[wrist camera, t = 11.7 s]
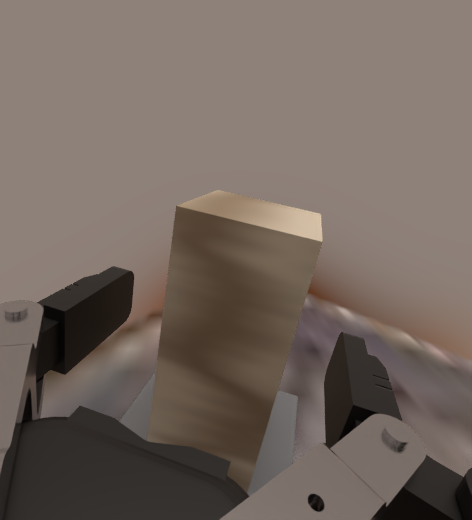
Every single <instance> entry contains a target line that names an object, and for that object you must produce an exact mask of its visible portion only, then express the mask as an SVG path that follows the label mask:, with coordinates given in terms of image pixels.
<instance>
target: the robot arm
mask: <svg viewBox="0 0 472 520" xmlns="http://www.w3.org/2000/svg"><path fill="white" fill-rule="evenodd" d="M133 285H134V274H133V272H132V271H129V270H125V269H122V268H118V267H111V268H109V269H107V270H106V271H103V272H102V273H100V274H96V275H93V276H89V277H85V278H82V279H80V280H78V281H77V282H75V283H73V285H72V284H71V285H69V286H67V287H65V289H61V290H60V291H58V292H56V293H54V294H53V295H50V296H49V297H47V298H45V299H43V300H41V301H39V302H37V303H36V302H32V301H25V300H23V301H21V300H20V301H11V302H6V303H2V304H0V520H472V468H471V469H469V470H468V471H467V473H466V475H465V476H464V477H462V476H461V475H459V474H457V473H455V472H454V471H452V470H450V469H448V468H447V467H445V466H443V465H441V464H440V463H438V462H436V461H435V460H433V459H432V458H430V457H429V456H427V455H426V449H425V446H424V444H423V442H422V440H421V439H420V437H419V436H418V435H417V434H416V432H415V431H414V430H413V429H411V428H410V427H409V426H408V425H406V424H405V423H404V422H403V421H402V418H401V415H400V412H399V409H398V406H397V402H396V399H395V396H394V393H393V391H392V387H391V383H390V382H389V377H388V374H387V371H386V368H385V367H384V366H383V364H382V363H381V362H380V361H379V360H378V358H377V357H375V356H371V355H368V353H367V349H366V345H365V341H364V339H363V338H360V337H357V336H353V335H350V334H346V333H343V332H341V333H340V335H339V337H338V340H337V343H336V345H335V348H334V351H333V354H332V357H331V359H330V362H329V365H328V368H327V371H326V375H325V382H324V396H325V430H326V444H325V443H320V444H318V445H317V446H315V447H314V448H313V449H312V450H310V451H309V452H308V453H306V454H305V455H304V456H302V457H301V458H300V459H298V460H297V461H296V462H294V463H293V464H292V465H290V466H289V467H288V468H287V469H285V470H284V471H283V472H281V473H280V474H279V475H277V476H276V477H275V478H273V479H272V480H271V481H269V482H268V483H267V484H265V485H264V486H263V487H262V488H260V489H259V490H258V491H256V492H255V493H254V494H252V495H251V496H249V495H248V494H247V493H246V492H245V490H244V489H243V488H242V487H241V486H240V485H238V484H237V483H236V482H235V481H234V480H233V479H231V478H230V477H228V476H227V474H228V470H229V466H230V462H231V461H229V460H226V459H223V458H221V457H218V456H215V455H212V454H210V453H207V452H204V451H202V450H199V449H196V448H193V447H189V446H180V445H172V444H163V443H155V442H148V441H146V440H144V439H143V438H141V437H140V436H138V435H137V434H136V433H134V432H133V431H132V430H130V429H129V428H127V427H126V426H125V425H123V424H122V423H120V422H119V421H118V420H116V419H115V418H112V417H109V416H107V415H104V414H101V413H99V412H96V411H93V410H90V409H88V408H85V407H82V406H79V407H78V408H77V409H76V410H75V412H74V413H73V414H72V415H71V416H70V417H48V418H41V419H40V416H41V409H42V402H43V394H44V387H45V374H46V373H47V372H48V371H49V370H53V371H56V372H59V373H61V374H64V375H65V374H66V373H68V372H69V371H70V370H71V369H72V368H73V367H74V366H75V365H77V364H78V363H79V362H80V361H81V360H82V359H83V358H85V357H86V356H87V355H88V354H89V353H90V352H91V351H93V350H94V349H95V348H96V347H97V346H98V345H99V344H100V343H102V342H103V341H104V340H105V339H106V338H107V337H108V336H110V335H111V334H112V333H113V332H114V331H115V330H116V329H118V328H119V327H120V326H121V325H122V324H123V323H124V322H125V321H126V320H127V318H128V317H129V314H130V312H131V308H132V295H133Z"/></svg>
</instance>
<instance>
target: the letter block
mask: <svg viewBox="0 0 472 520" xmlns="http://www.w3.org/2000/svg"><path fill="white" fill-rule="evenodd" d="M322 242H323V241H322V224H321V214H319V213H315V212H310V211H306V210H302V209H298V208H293V207H289V206H285V205H280V204H276V203H272V202H267V201H263V200H259V199H255V198H250V197H246V196H242V195H238V194H233V193H229V192H225V191H220V190H217V191H214V192H212V193H209V194H206V195H204V196H201V197H198V198H196V199H193V200H190V201H188V202H185V203H182V204H180V205H177V206H176V214H175V221H174V229H173V237H172V245H171V254H170V261H169V270H168V277H167V285H166V294H165V302H164V309H163V317H162V325H161V333H160V341H159V350H158V358H157V366H156V374H155V382H154V390H153V398H152V406H151V414H150V422H149V430H148V438H147V441H148V442H155V443H163V444H172V445H180V446H189V447H193V448H196V449H199V450H202V451H204V452H207V453H210V454H212V455H215V456H218V457H221V458H223V459H226V460H229V461H231V462H230V466H229V470H228V474H227V476H228V477H230V478H231V479H233V480H234V481H235V482H236V483H237V484H238V485H240V486H241V487H242V488H243V489H244V490H245V492H246V493H247V492H248V488H249V485H250V482H251V478H252V475H253V472H254V468H255V465H256V462H257V458H258V455H259V452H260V448H261V445H262V442H263V438H264V435H265V432H266V428H267V425H268V422H269V418H270V415H271V412H272V408H273V405H274V402H275V398H276V395H277V392H278V388H279V385H280V382H281V378H282V375H283V372H284V368H285V365H286V362H287V358H288V355H289V352H290V348H291V345H292V342H293V338H294V335H295V332H296V328H297V325H298V322H299V318H300V315H301V312H302V308H303V305H304V302H305V298H306V295H307V292H308V288H309V285H310V282H311V278H312V275H313V272H314V268H315V265H316V262H317V258H318V255H319V252H320V248H321V245H322Z"/></svg>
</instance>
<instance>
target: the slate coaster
mask: <svg viewBox="0 0 472 520" xmlns="http://www.w3.org/2000/svg"><path fill="white" fill-rule="evenodd" d="M155 374H156V372H155V373H154V374H153V376H152V377H151V378H150V380H149V381H148V383H147V384H146V385H145V387H144V388H143V389H142V391H141V392H140V394H139V395H138V396H137V398H136V399H135V400H134V402H133V403H132V405H131V406H130V407H129V409H128V410H127V411H126V413H125V414H124V416H123V417H122V418H121V420H120V421H119V422H120V423H122V424H123V425H125V426H126V427H127V428H129V429H130V430H132V431H133V432H134V433H136V434H137V435H138V436H140V437H141V438H143V439H144V440H146V441H147V438H148V430H149V422H150V414H151V406H152V398H153V390H154V382H155ZM297 398H298V396H295V395H292V394H289V393H286V392H283V391H279V390H278V392H277V395H276V398H275V402H274V405H273V408H272V412H271V415H270V418H269V422H268V425H267V428H266V432H265V435H264V438H263V442H262V445H261V448H260V452H259V455H258V458H257V462H256V465H255V468H254V472H253V475H252V478H251V482H250V485H249V488H248V492H247V494H248V495H249V496H251V495H252V494H254V493H255V492H256V491H258V490H259V489H260V488H262V487H263V486H264V485H265V484H267V483H268V482H269V481H271V480H272V479H273V478H275V477H276V476H277V475H279V474H280V473H281V472H283V471H284V470H285V469H287V468H288V467H289V466H290V465H292V464H293V454H294V440H295V426H296V412H297Z"/></svg>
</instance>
